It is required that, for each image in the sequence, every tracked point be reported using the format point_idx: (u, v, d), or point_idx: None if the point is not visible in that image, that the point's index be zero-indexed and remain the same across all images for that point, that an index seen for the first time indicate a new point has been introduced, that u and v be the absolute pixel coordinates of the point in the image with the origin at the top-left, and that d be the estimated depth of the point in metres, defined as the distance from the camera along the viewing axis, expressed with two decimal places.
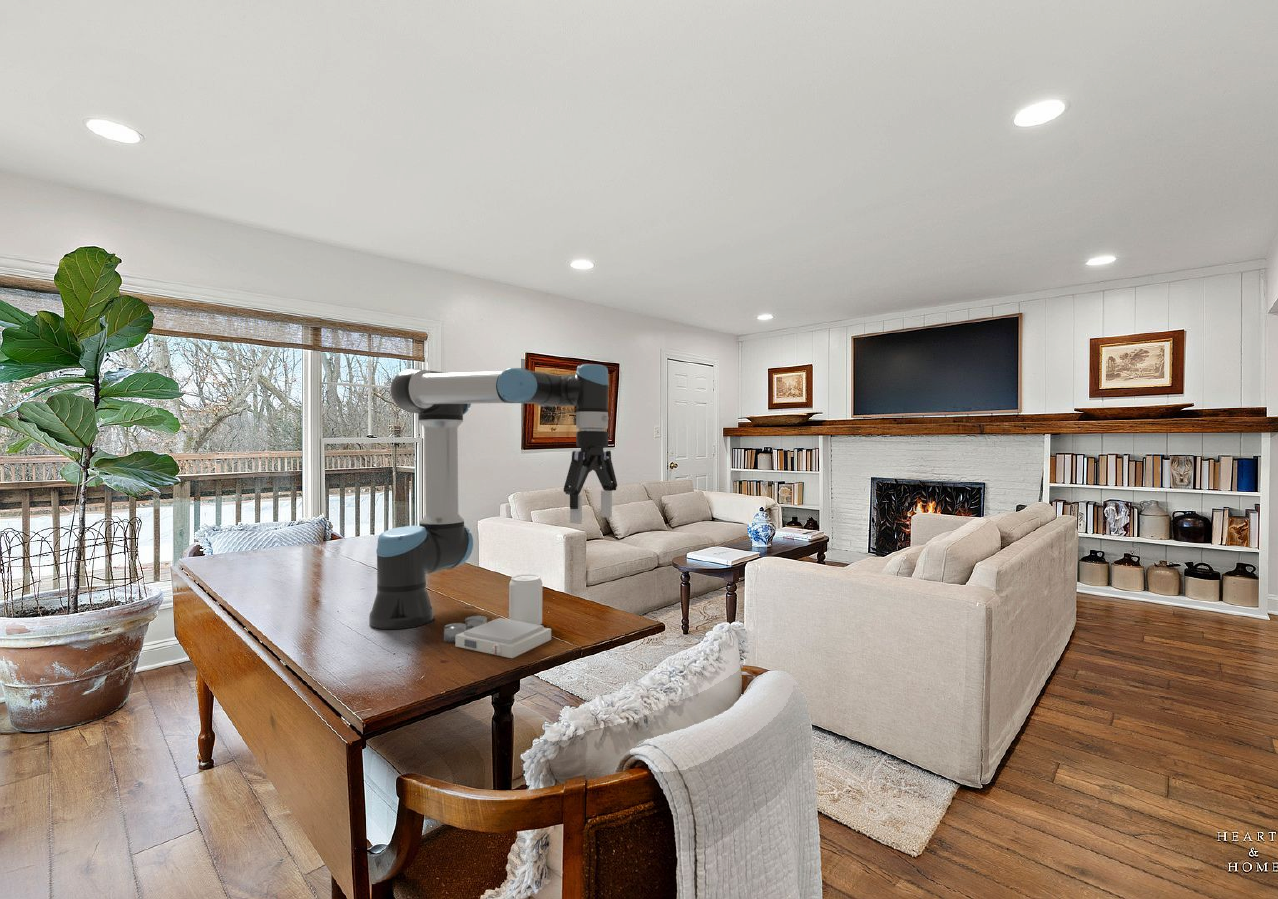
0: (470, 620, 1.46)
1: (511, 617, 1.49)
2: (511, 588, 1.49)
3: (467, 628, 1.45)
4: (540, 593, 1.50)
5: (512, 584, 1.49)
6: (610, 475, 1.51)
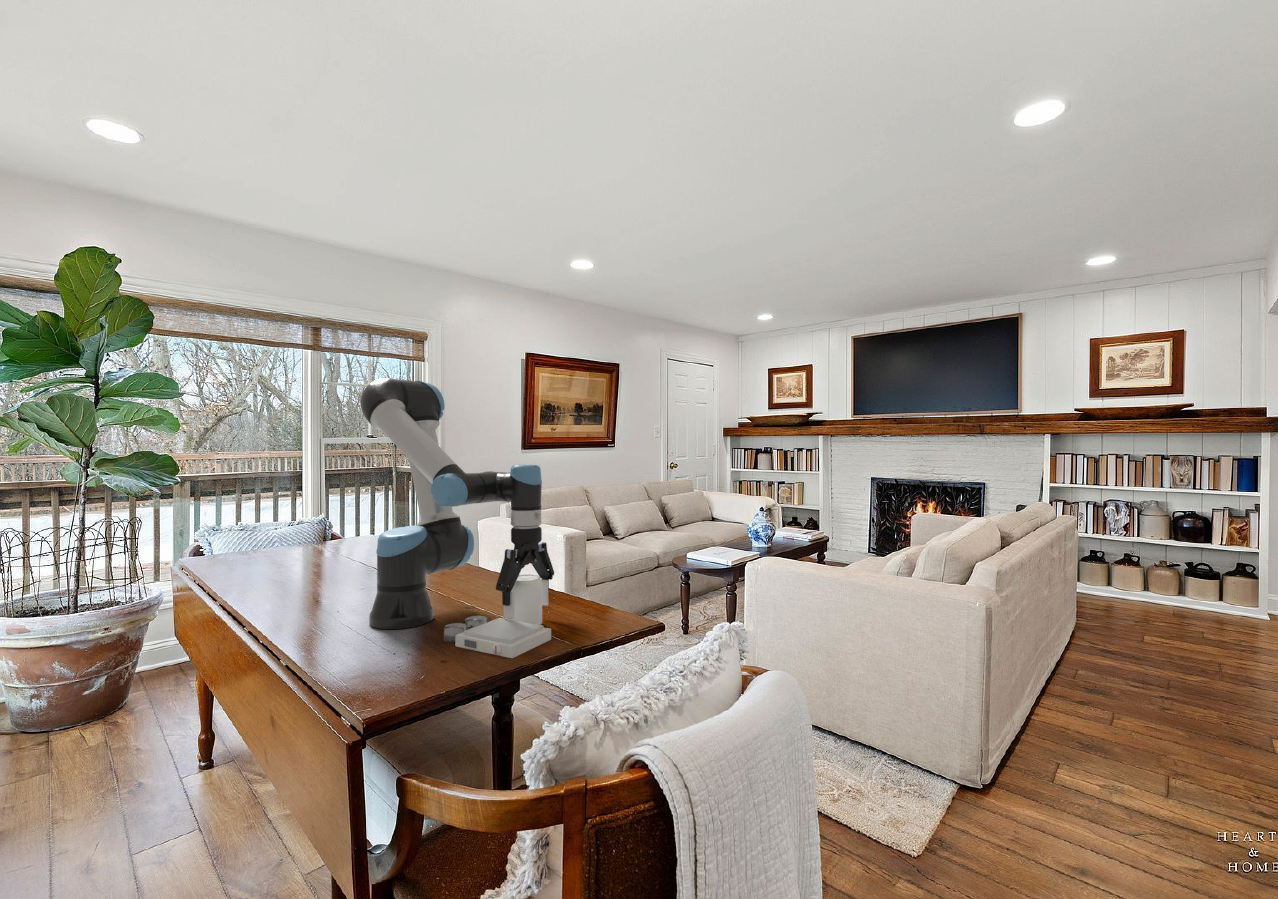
0: (470, 620, 1.46)
1: None
2: None
3: (467, 628, 1.45)
4: (540, 593, 1.50)
5: None
6: (546, 565, 1.58)
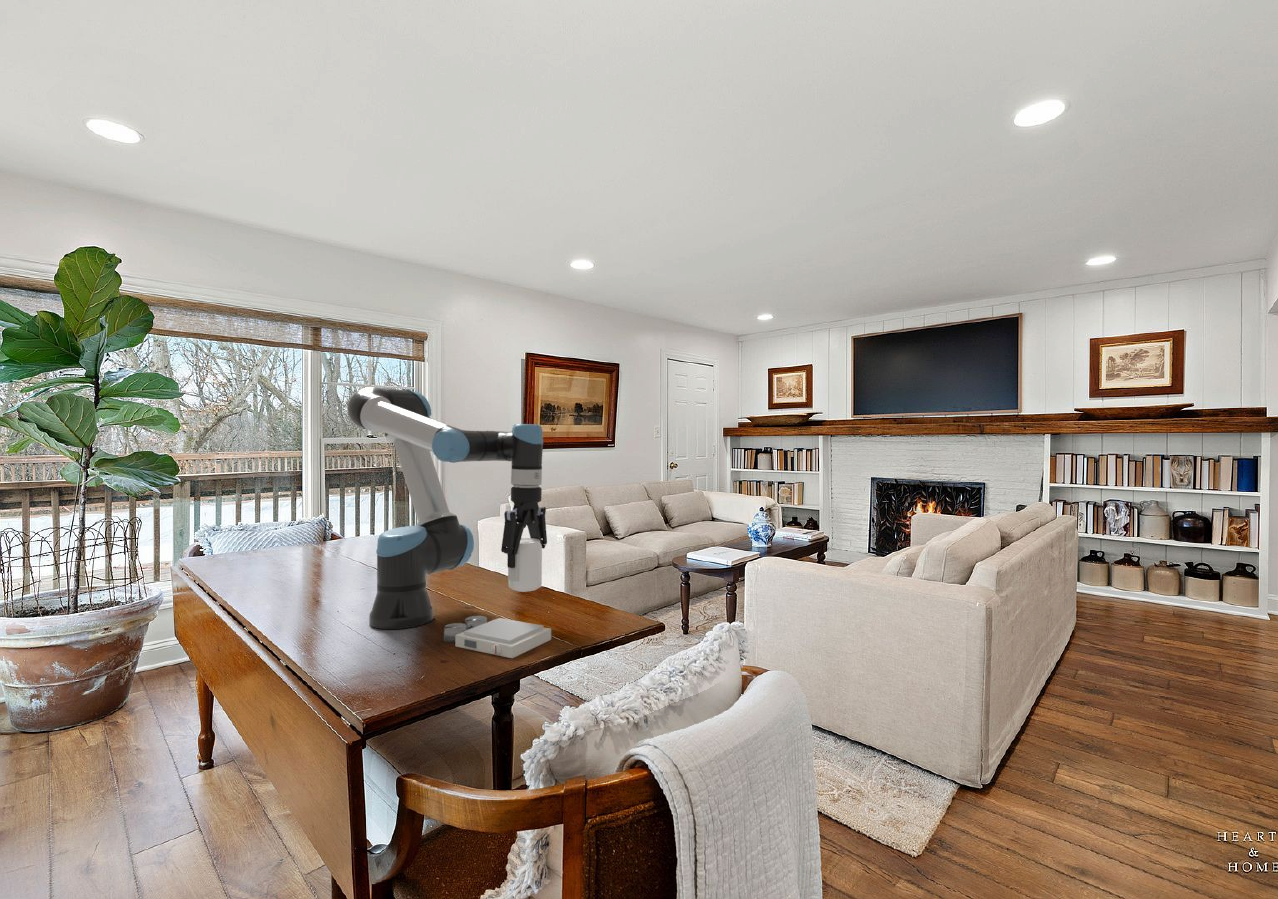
0: (470, 620, 1.46)
1: None
2: None
3: (467, 628, 1.45)
4: (539, 556, 1.51)
5: None
6: (541, 531, 1.57)
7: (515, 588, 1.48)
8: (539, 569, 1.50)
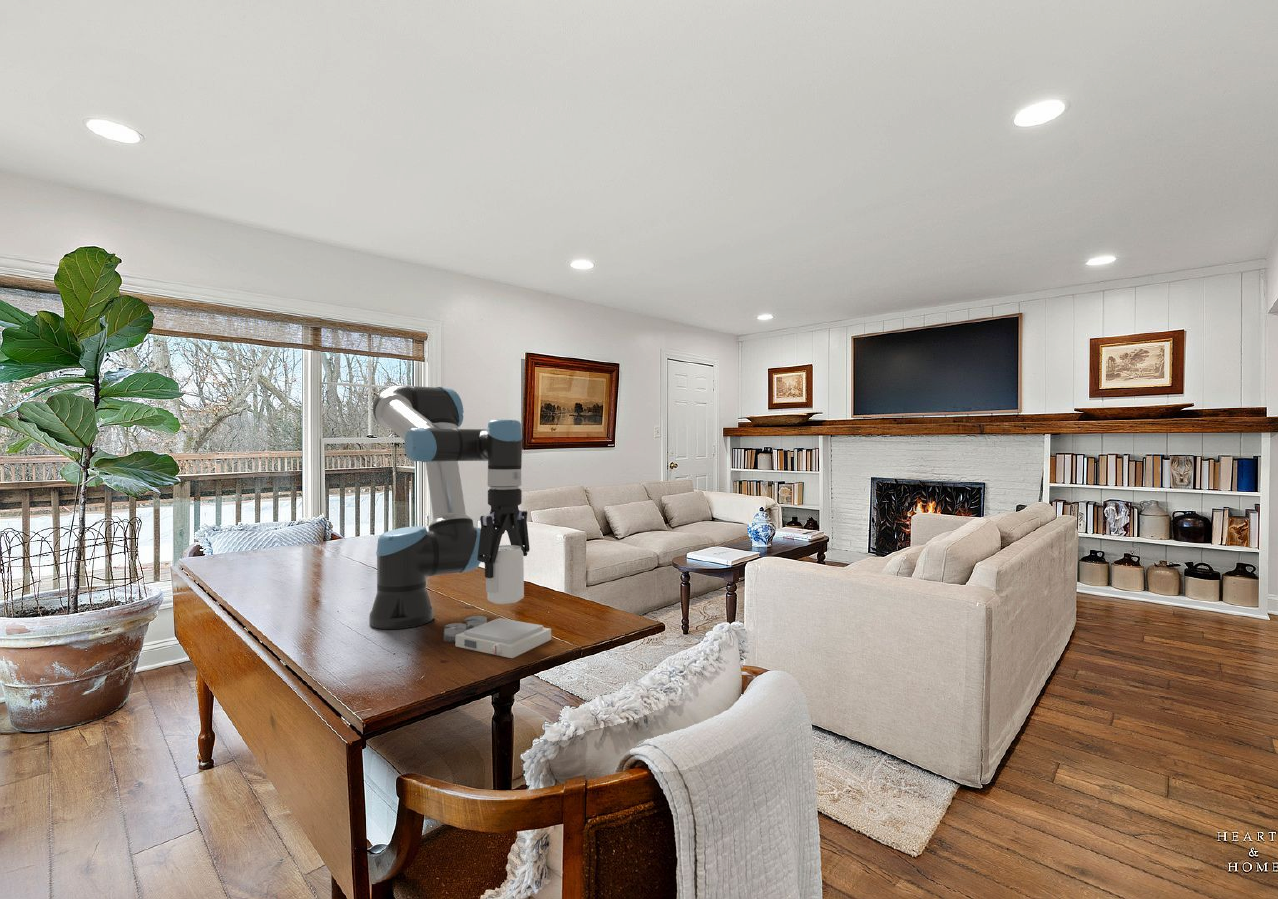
0: (470, 620, 1.46)
1: None
2: None
3: (467, 628, 1.45)
4: (521, 564, 1.37)
5: None
6: (523, 537, 1.43)
7: (494, 600, 1.34)
8: (520, 579, 1.37)
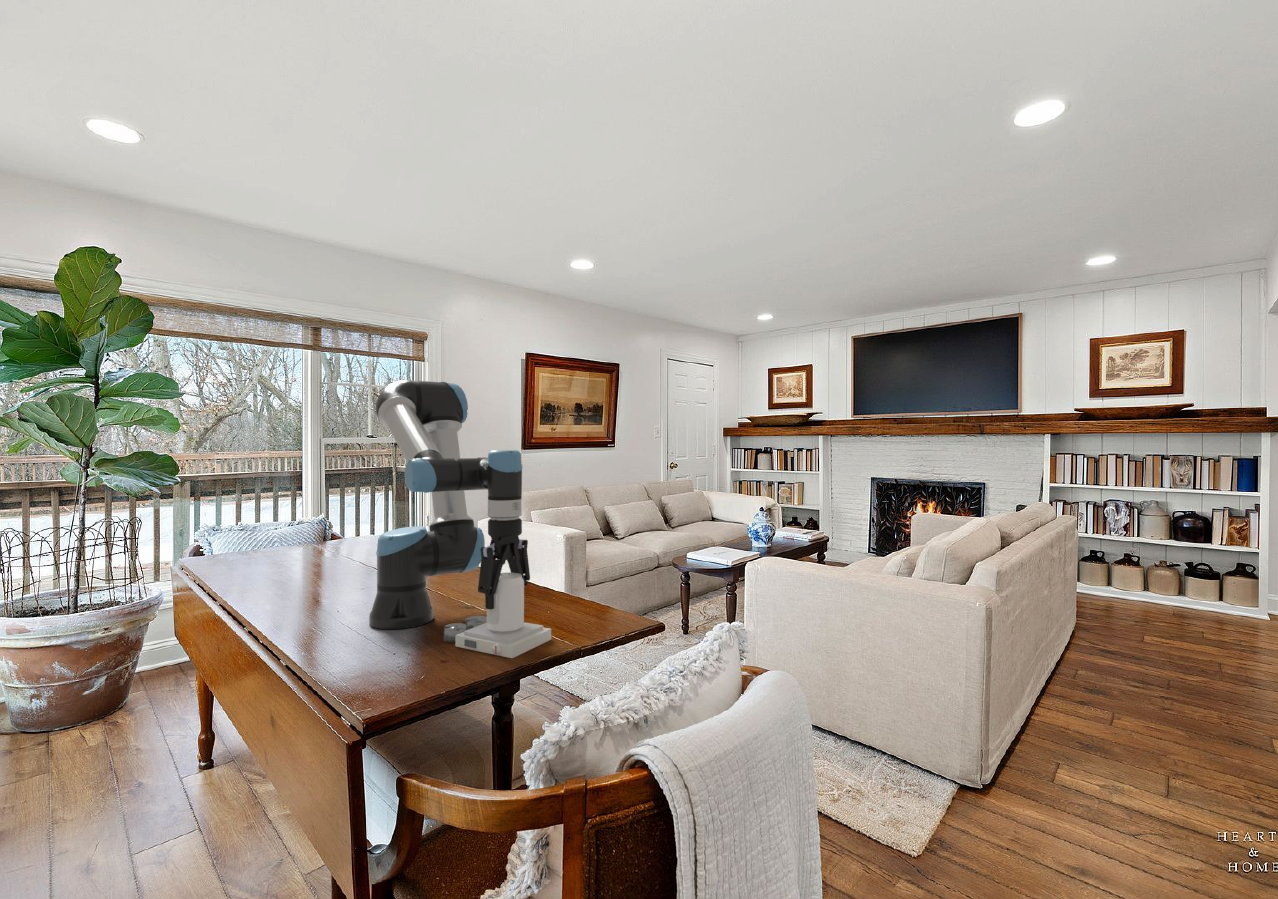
0: (470, 620, 1.46)
1: None
2: None
3: (467, 628, 1.45)
4: (521, 593, 1.37)
5: None
6: (523, 566, 1.43)
7: (494, 629, 1.35)
8: (521, 607, 1.37)
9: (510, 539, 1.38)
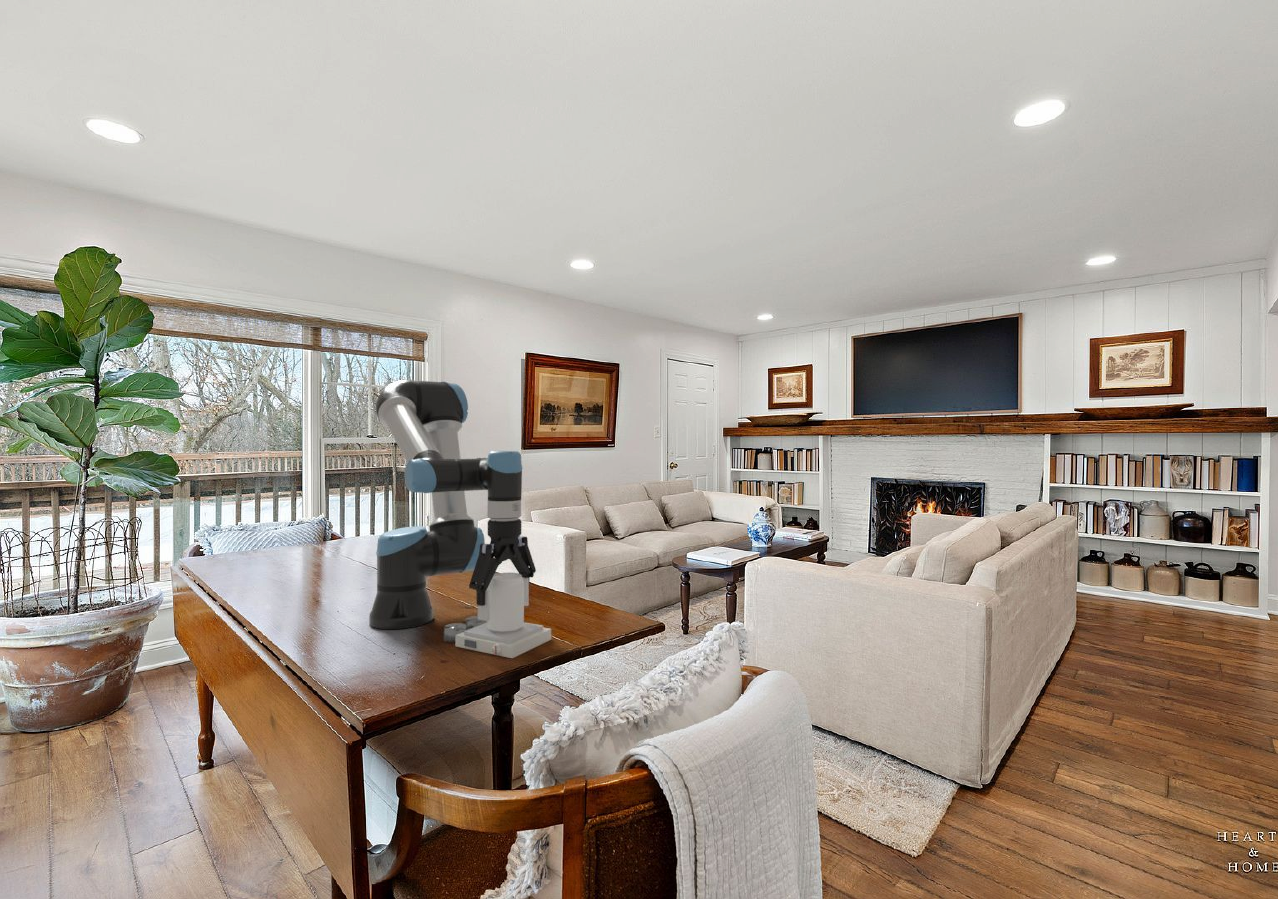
0: (470, 620, 1.46)
1: None
2: (489, 587, 1.36)
3: (467, 628, 1.45)
4: (521, 593, 1.37)
5: (490, 583, 1.35)
6: (527, 561, 1.45)
7: (494, 629, 1.35)
8: (521, 607, 1.37)
9: (509, 543, 1.38)
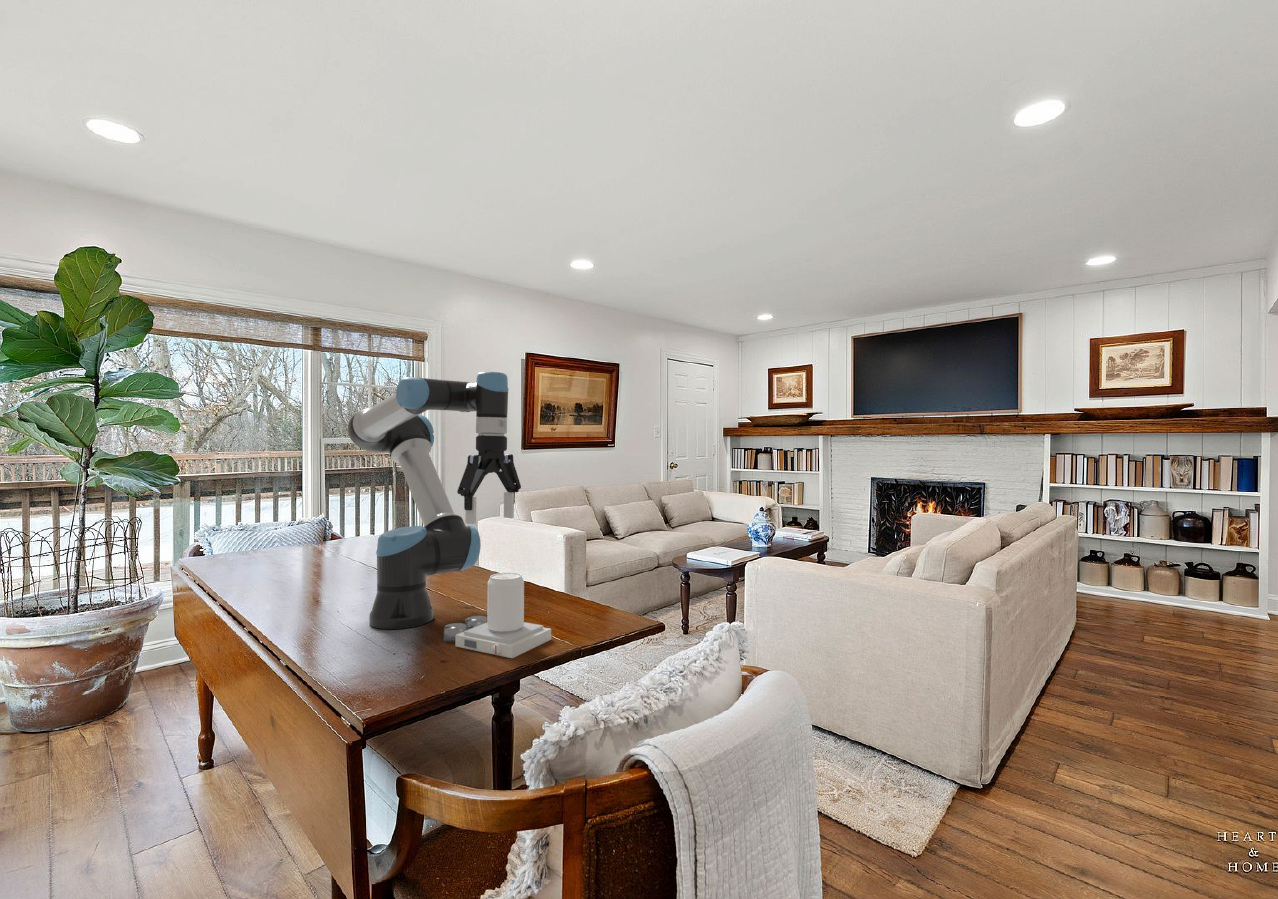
0: (470, 620, 1.46)
1: (489, 619, 1.35)
2: (489, 587, 1.36)
3: (467, 628, 1.45)
4: (521, 593, 1.37)
5: (490, 583, 1.35)
6: (513, 477, 1.57)
7: (494, 629, 1.35)
8: (521, 607, 1.37)
9: (495, 457, 1.50)
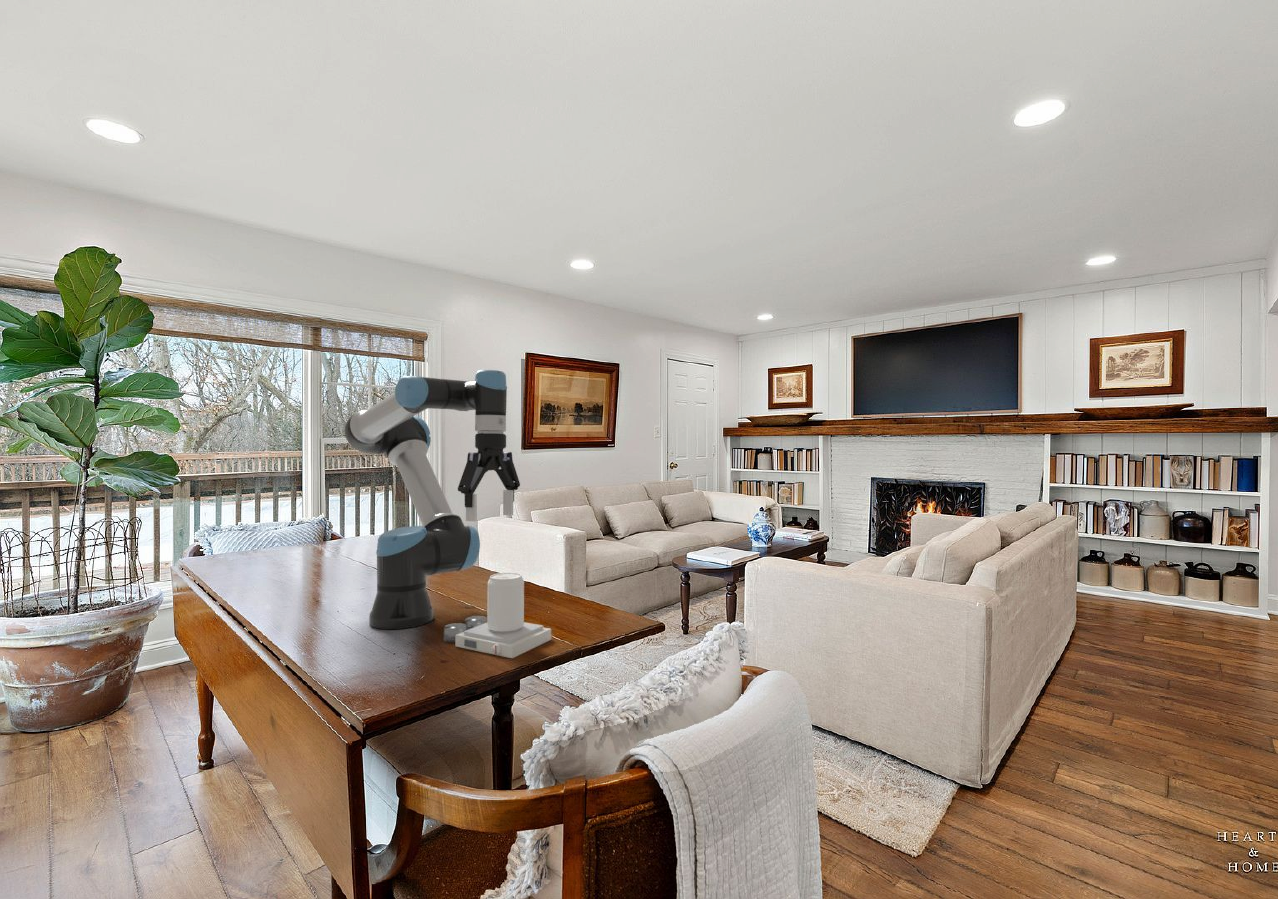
0: (470, 620, 1.46)
1: (489, 619, 1.35)
2: (489, 587, 1.36)
3: (467, 628, 1.45)
4: (521, 593, 1.37)
5: (490, 583, 1.35)
6: (512, 475, 1.58)
7: (494, 629, 1.35)
8: (521, 607, 1.37)
9: (495, 455, 1.51)
